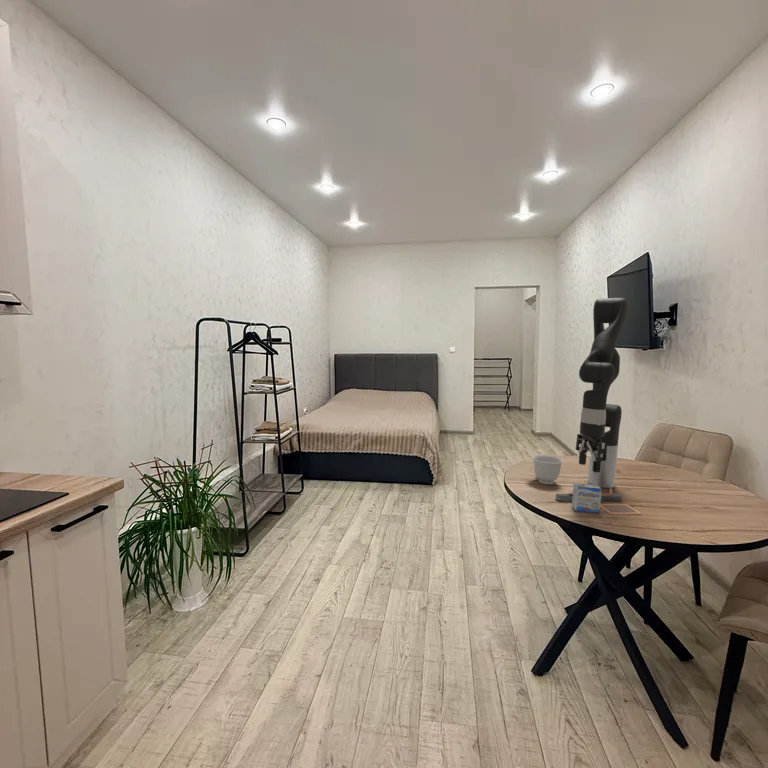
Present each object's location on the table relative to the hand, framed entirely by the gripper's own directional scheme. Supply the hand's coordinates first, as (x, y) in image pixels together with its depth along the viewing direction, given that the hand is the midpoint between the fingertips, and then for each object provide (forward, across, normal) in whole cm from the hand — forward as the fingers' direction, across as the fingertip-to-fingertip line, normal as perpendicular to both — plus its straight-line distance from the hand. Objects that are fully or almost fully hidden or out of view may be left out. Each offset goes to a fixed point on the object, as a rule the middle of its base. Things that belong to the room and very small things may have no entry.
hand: (589, 468), depth 141 cm
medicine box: (+15, 0, 0) cm, 15 cm away
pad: (+15, 0, +12) cm, 19 cm away
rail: (+15, -9, +6) cm, 18 cm away
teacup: (+15, -29, -1) cm, 33 cm away
